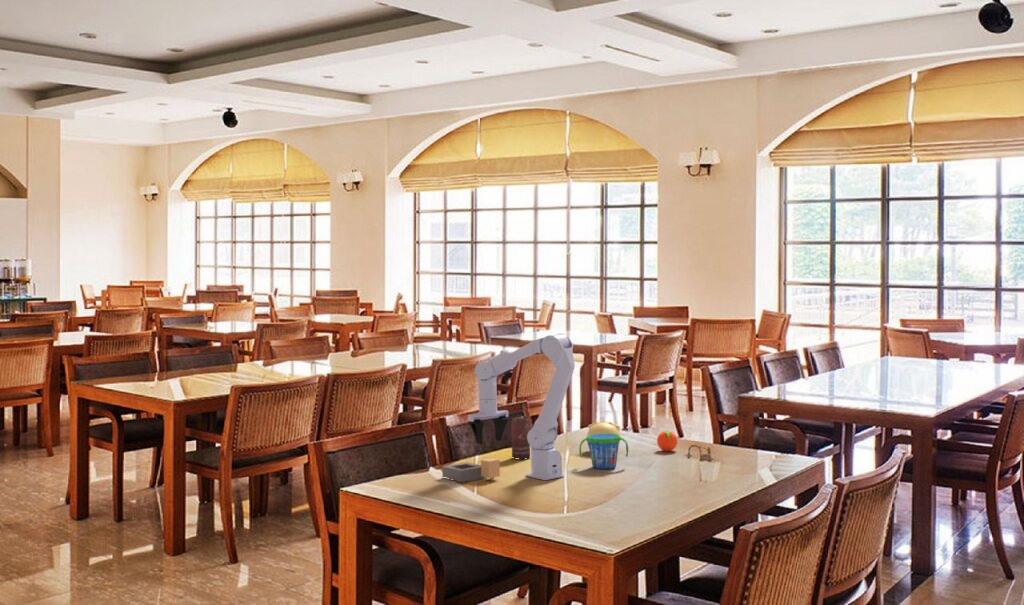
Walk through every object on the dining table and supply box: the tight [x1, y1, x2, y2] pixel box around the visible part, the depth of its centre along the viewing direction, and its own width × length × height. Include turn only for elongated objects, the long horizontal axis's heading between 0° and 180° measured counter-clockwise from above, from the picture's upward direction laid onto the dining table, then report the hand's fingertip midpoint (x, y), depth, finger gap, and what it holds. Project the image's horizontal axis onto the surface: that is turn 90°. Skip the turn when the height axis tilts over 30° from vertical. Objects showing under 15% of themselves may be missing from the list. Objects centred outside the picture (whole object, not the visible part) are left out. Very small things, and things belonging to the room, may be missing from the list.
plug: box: [480, 457, 501, 482], centre depth 300 cm, size 4×4×6 cm
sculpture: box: [586, 420, 621, 448], centre depth 343 cm, size 12×12×11 cm
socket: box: [441, 461, 484, 483], centre depth 304 cm, size 10×10×4 cm
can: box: [510, 415, 531, 459], centre depth 334 cm, size 6×6×14 cm
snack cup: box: [579, 433, 629, 470], centre depth 315 cm, size 16×10×10 cm
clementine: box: [656, 430, 678, 452], centre depth 341 cm, size 8×7×7 cm
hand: (489, 441), depth 311 cm, fingers open, 7 cm apart
